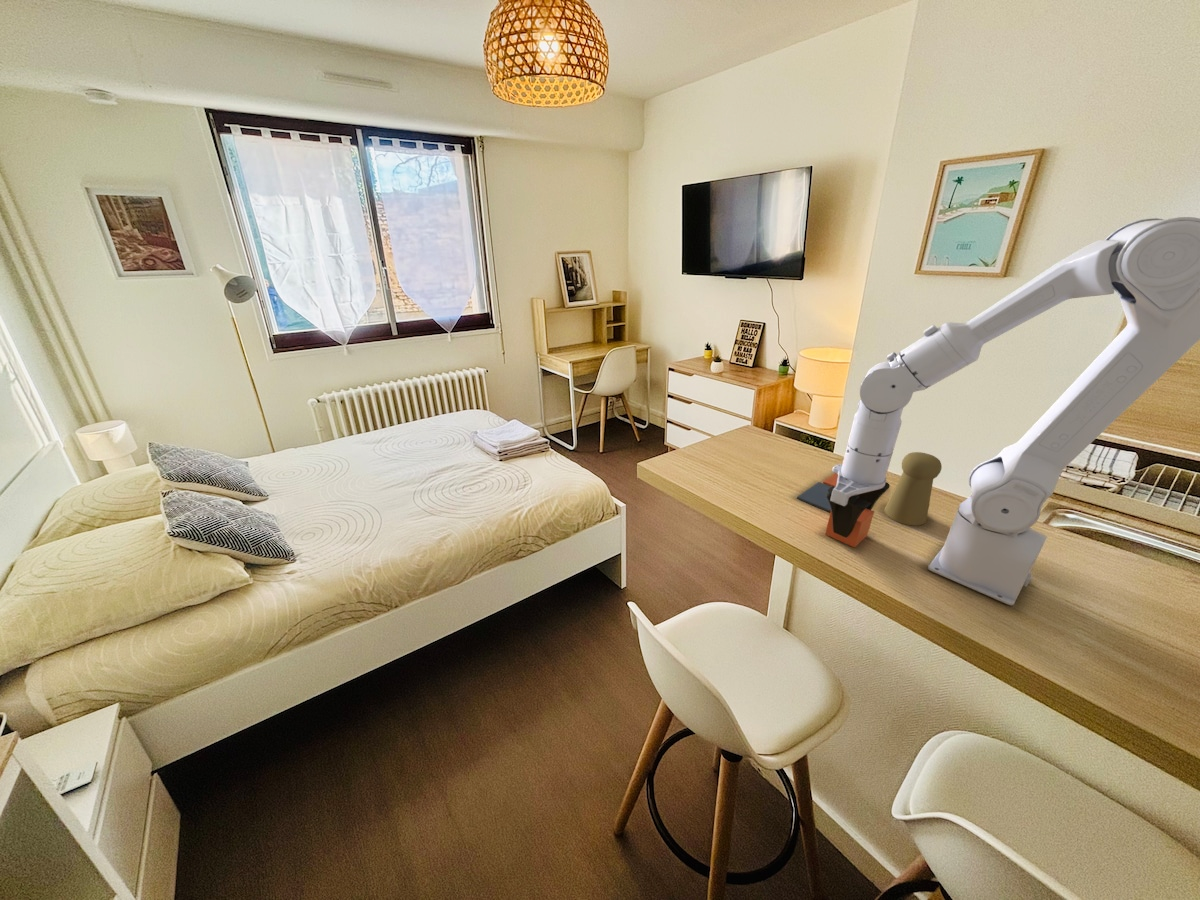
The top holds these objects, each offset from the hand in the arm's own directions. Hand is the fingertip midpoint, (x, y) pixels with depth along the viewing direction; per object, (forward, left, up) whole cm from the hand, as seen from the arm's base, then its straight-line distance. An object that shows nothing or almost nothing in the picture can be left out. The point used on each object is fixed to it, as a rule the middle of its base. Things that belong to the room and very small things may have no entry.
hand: (848, 527), depth 72 cm
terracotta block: (0, 0, -1) cm, 1 cm away
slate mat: (+6, -8, -1) cm, 10 cm away
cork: (-4, -13, -2) cm, 14 cm away
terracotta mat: (+6, -16, -1) cm, 18 cm away
